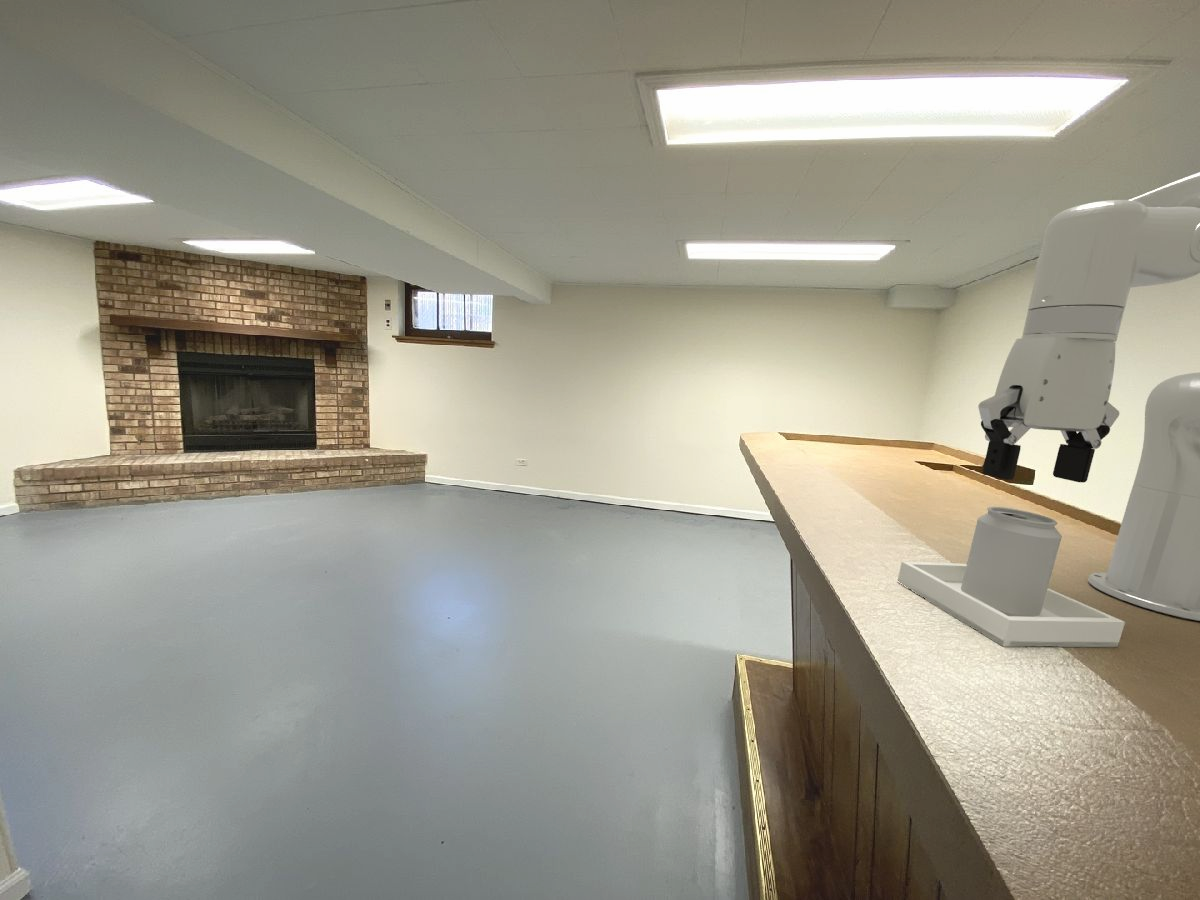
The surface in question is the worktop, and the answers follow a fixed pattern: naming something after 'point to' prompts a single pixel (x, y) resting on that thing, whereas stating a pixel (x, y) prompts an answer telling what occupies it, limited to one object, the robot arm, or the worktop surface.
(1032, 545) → the can
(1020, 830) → the worktop surface
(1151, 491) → the robot arm
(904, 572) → the tray
